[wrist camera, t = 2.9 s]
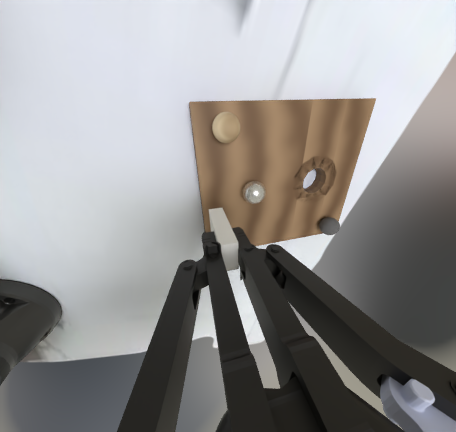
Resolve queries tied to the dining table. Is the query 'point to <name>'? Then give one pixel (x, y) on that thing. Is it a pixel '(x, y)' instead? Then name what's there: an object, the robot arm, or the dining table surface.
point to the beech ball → (226, 127)
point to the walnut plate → (279, 162)
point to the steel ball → (254, 192)
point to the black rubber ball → (329, 226)
